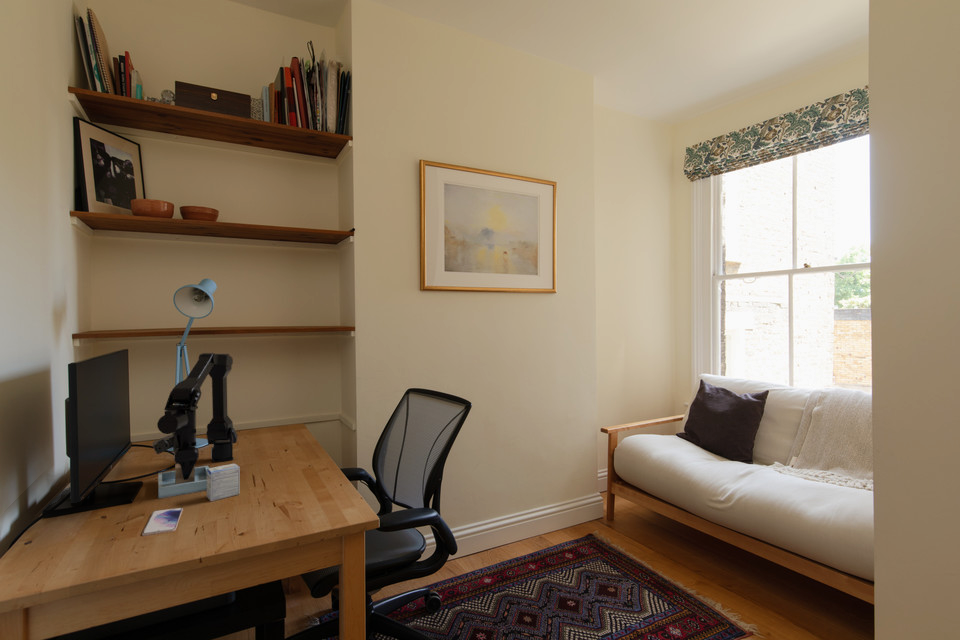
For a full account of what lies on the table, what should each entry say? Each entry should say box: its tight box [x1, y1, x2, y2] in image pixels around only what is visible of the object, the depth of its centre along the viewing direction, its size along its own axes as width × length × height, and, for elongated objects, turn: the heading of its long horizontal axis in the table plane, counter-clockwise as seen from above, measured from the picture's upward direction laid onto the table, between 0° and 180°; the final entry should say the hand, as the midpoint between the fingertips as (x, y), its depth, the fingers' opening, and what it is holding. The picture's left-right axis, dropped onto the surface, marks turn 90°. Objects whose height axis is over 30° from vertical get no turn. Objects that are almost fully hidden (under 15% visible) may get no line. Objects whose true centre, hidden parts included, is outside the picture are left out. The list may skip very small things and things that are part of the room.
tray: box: [157, 465, 210, 499], centre depth 150 cm, size 14×16×3 cm
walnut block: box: [174, 463, 196, 485], centre depth 150 cm, size 5×5×6 cm
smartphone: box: [141, 507, 184, 537], centre depth 125 cm, size 7×1×15 cm
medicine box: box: [206, 463, 241, 502], centre depth 142 cm, size 8×4×9 cm, turn 134°
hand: (185, 475), depth 150 cm, fingers open, 9 cm apart
